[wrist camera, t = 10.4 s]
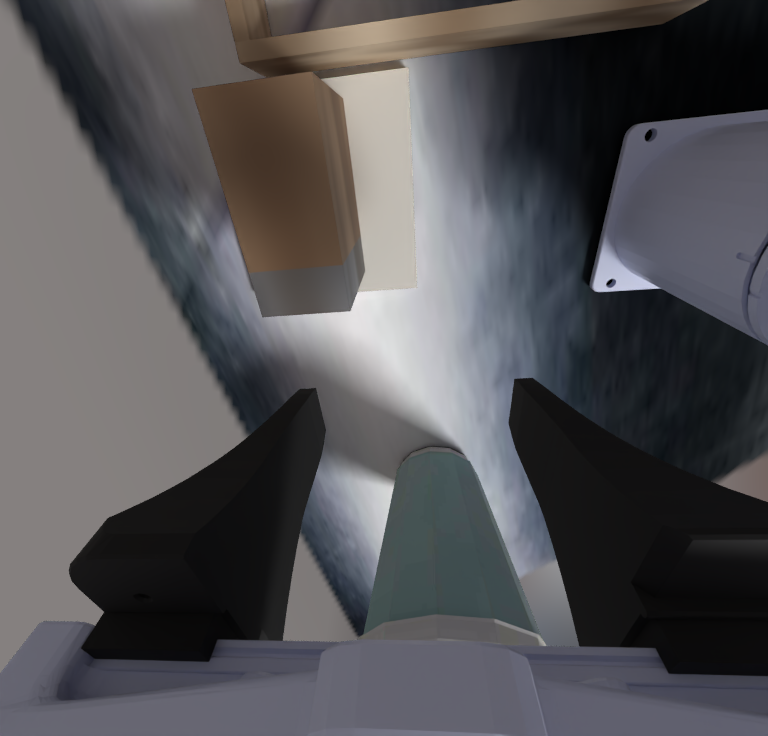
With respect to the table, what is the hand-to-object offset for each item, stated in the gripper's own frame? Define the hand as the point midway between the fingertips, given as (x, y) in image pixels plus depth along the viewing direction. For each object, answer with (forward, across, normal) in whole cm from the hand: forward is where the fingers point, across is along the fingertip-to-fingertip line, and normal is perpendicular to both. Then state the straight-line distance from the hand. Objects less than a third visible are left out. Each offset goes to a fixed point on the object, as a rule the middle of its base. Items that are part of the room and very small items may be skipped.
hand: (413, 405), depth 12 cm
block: (+10, +4, -6) cm, 13 cm away
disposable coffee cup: (+11, -2, +16) cm, 19 cm away
